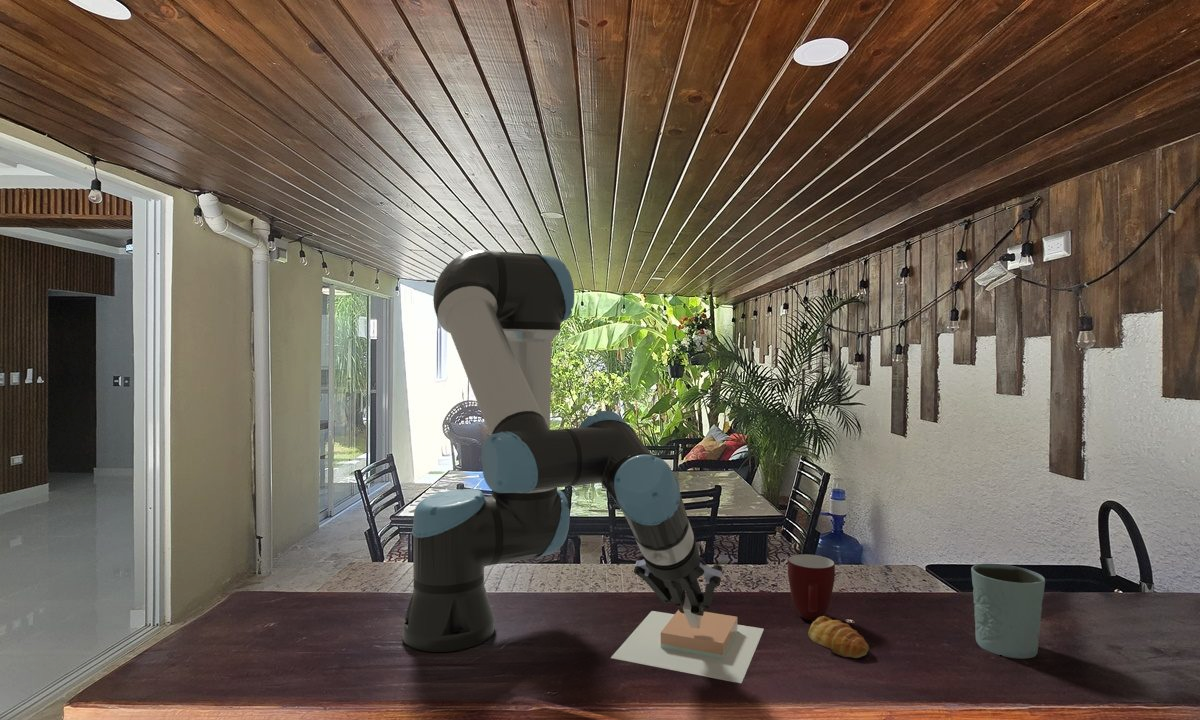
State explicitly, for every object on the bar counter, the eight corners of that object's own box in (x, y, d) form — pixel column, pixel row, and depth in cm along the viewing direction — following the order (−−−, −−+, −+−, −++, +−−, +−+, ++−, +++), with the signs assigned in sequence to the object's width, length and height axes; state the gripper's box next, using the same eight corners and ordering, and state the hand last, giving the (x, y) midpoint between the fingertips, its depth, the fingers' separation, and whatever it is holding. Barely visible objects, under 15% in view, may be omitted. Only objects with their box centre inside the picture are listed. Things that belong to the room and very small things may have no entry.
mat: (610, 661, 102) (610, 657, 102) (651, 614, 120) (651, 610, 120) (741, 687, 94) (741, 683, 94) (764, 632, 112) (764, 628, 112)
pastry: (879, 654, 104) (879, 630, 104) (850, 665, 101) (850, 640, 101) (830, 633, 113) (830, 610, 112) (803, 642, 109) (803, 619, 109)
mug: (843, 632, 112) (843, 574, 112) (794, 630, 113) (794, 572, 113) (828, 608, 123) (829, 554, 122) (784, 606, 124) (784, 553, 123)
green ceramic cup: (963, 646, 107) (963, 572, 107) (979, 627, 114) (980, 558, 114) (1037, 667, 100) (1038, 588, 100) (1049, 645, 107) (1050, 571, 107)
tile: (660, 632, 105) (679, 607, 115) (660, 647, 105) (679, 621, 115) (723, 643, 101) (737, 616, 111) (723, 659, 101) (737, 631, 111)
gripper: (615, 562, 90) (652, 636, 105) (710, 574, 85) (734, 650, 101) (628, 514, 95) (661, 591, 110) (718, 523, 90) (740, 603, 105)
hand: (696, 619), depth 105 cm, fingers closed
